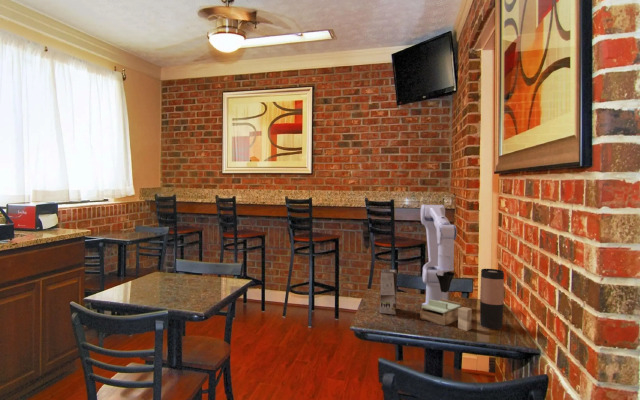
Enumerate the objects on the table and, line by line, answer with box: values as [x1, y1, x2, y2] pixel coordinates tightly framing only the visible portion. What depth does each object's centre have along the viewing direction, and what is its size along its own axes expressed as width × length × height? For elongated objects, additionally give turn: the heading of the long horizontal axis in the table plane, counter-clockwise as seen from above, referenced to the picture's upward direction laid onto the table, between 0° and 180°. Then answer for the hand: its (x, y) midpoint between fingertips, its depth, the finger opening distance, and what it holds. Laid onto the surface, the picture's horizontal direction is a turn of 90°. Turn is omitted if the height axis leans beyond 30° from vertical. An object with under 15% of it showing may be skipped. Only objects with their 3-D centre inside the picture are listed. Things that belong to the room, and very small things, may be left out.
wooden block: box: [457, 306, 473, 332], centre depth 132 cm, size 3×3×7 cm
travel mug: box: [479, 268, 505, 330], centre depth 135 cm, size 8×8×20 cm
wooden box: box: [419, 299, 462, 327], centre depth 143 cm, size 14×10×6 cm
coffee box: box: [379, 268, 398, 315], centre depth 151 cm, size 9×6×16 cm
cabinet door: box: [421, 299, 462, 313], centre depth 142 cm, size 13×9×3 cm
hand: (444, 291), depth 144 cm, fingers closed
